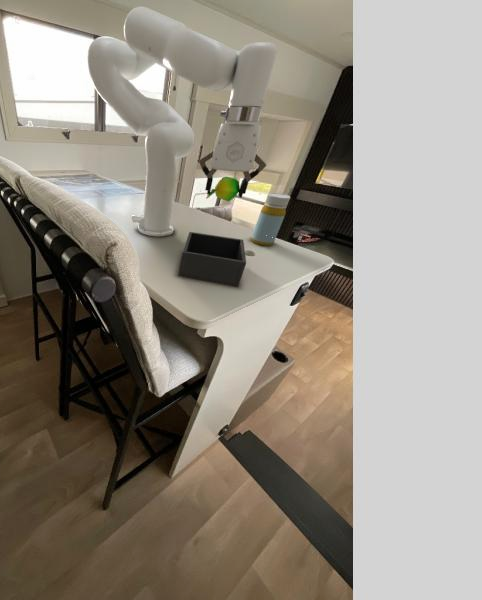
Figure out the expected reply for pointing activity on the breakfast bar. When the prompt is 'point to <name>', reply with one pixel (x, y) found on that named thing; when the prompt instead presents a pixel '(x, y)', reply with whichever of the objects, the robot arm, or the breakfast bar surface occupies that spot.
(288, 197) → the bottle
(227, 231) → the breakfast bar surface
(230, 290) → the breakfast bar surface
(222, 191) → the apple
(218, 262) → the bin
